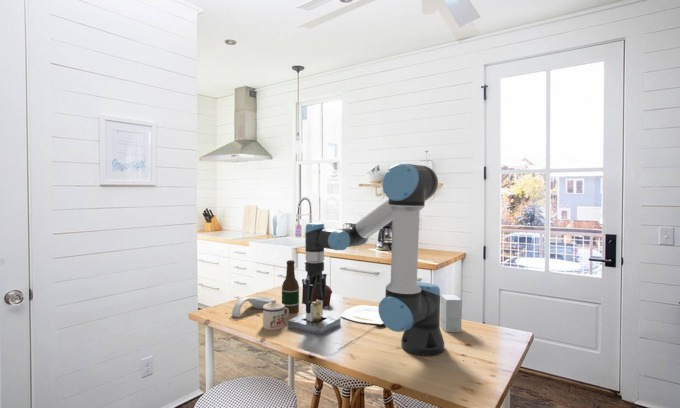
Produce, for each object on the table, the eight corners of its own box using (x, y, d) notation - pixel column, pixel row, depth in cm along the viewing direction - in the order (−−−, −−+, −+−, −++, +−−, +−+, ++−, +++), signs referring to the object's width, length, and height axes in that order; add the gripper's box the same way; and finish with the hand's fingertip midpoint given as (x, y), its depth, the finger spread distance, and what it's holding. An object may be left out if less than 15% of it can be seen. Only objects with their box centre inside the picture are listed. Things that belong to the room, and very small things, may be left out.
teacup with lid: (271, 334, 148) (271, 304, 148) (257, 328, 154) (257, 299, 154) (295, 326, 157) (295, 298, 156) (281, 321, 163) (281, 294, 163)
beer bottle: (302, 312, 175) (302, 260, 174) (291, 316, 168) (291, 263, 167) (289, 309, 179) (289, 258, 178) (278, 313, 172) (278, 261, 172)
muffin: (336, 303, 188) (336, 283, 188) (324, 309, 179) (324, 288, 178) (317, 300, 194) (317, 280, 194) (303, 305, 185) (304, 285, 185)
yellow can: (324, 325, 155) (324, 301, 154) (316, 330, 150) (316, 305, 149) (312, 322, 158) (313, 299, 158) (304, 327, 153) (304, 302, 153)
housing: (340, 327, 155) (340, 317, 155) (320, 338, 144) (320, 328, 144) (309, 320, 164) (309, 311, 164) (287, 330, 152) (287, 320, 152)
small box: (461, 332, 151) (462, 299, 151) (445, 332, 151) (446, 300, 151) (454, 325, 159) (455, 294, 159) (439, 325, 159) (440, 294, 159)
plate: (383, 331, 153) (383, 326, 153) (334, 321, 164) (334, 316, 164) (403, 315, 173) (403, 311, 173) (358, 307, 184) (358, 303, 184)
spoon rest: (260, 302, 191) (260, 288, 191) (279, 305, 186) (279, 291, 185) (225, 315, 170) (225, 299, 170) (245, 320, 165) (245, 303, 164)
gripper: (320, 257, 163) (320, 310, 164) (292, 264, 147) (292, 323, 148) (335, 258, 159) (335, 313, 160) (307, 266, 143) (307, 327, 144)
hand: (314, 318), depth 154 cm, fingers closed on yellow can, 6 cm apart
